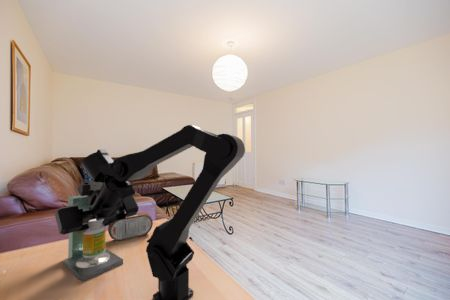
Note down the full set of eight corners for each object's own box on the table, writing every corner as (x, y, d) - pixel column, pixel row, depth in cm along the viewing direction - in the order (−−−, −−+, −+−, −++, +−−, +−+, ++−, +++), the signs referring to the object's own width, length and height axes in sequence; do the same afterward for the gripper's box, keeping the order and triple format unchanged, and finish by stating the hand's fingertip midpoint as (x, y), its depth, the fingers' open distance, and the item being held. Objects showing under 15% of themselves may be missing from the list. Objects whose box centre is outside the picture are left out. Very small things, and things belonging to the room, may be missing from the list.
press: (123, 263, 57) (123, 200, 57) (82, 282, 48) (83, 208, 49) (88, 241, 70) (88, 190, 70) (51, 252, 62) (52, 195, 62)
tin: (151, 231, 79) (151, 210, 79) (153, 234, 77) (153, 212, 77) (107, 240, 71) (108, 217, 71) (108, 244, 68) (108, 219, 68)
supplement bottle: (94, 259, 53) (94, 222, 53) (77, 257, 54) (77, 221, 54) (109, 249, 58) (109, 216, 58) (94, 247, 59) (94, 215, 59)
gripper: (133, 168, 62) (115, 199, 68) (57, 174, 47) (43, 213, 53) (148, 197, 57) (128, 227, 63) (70, 214, 42) (52, 252, 48)
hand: (92, 228), depth 57 cm, fingers closed on supplement bottle, 5 cm apart
